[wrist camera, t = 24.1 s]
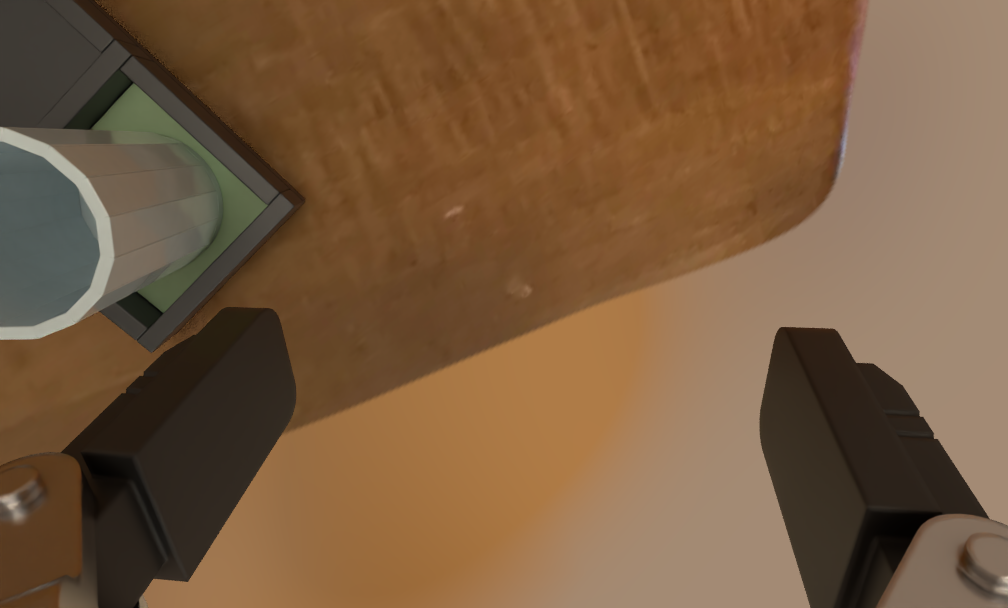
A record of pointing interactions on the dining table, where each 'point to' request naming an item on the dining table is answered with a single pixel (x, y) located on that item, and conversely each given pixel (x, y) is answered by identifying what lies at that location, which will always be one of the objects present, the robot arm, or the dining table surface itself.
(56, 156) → the tumbler
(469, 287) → the dining table surface
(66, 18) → the tray
